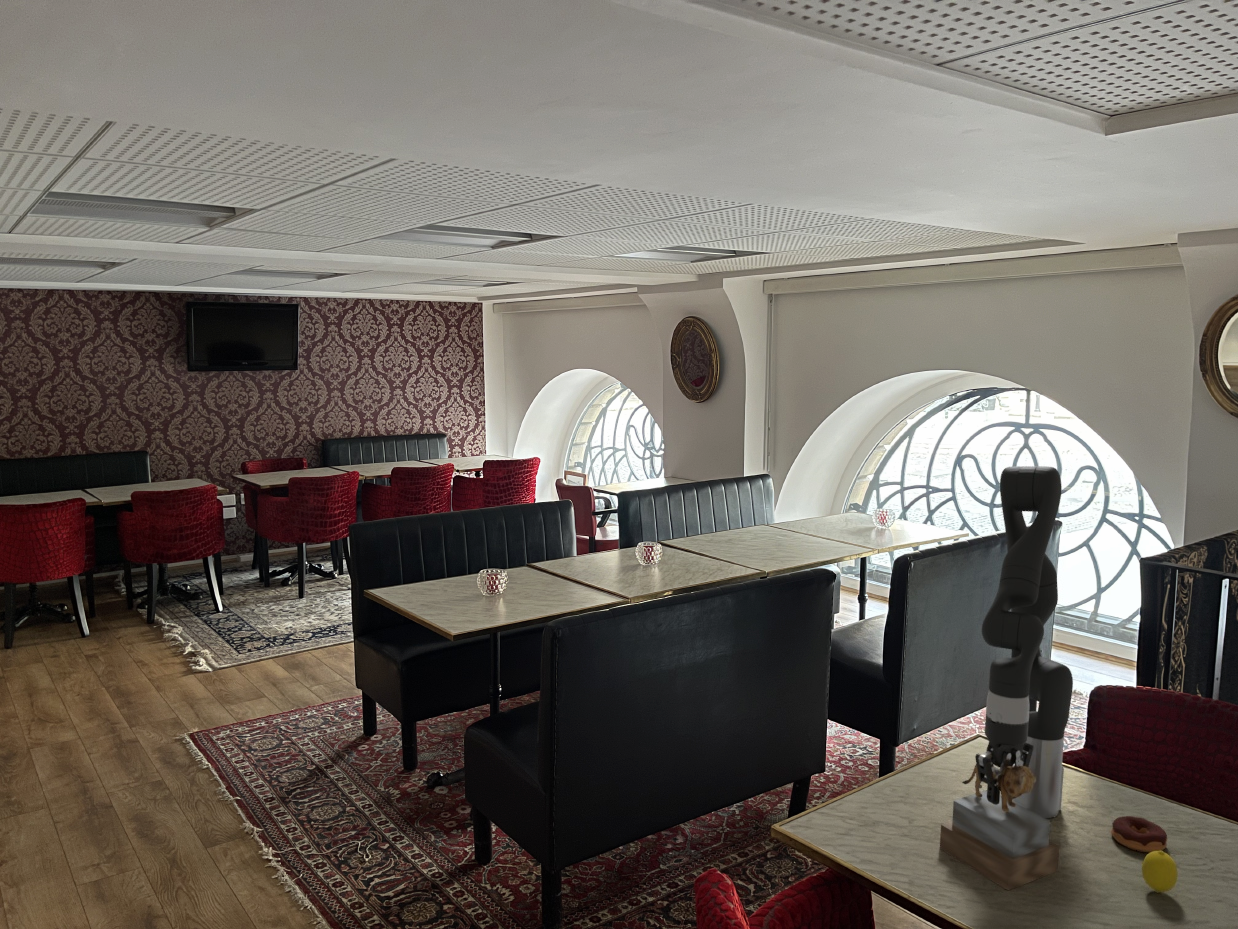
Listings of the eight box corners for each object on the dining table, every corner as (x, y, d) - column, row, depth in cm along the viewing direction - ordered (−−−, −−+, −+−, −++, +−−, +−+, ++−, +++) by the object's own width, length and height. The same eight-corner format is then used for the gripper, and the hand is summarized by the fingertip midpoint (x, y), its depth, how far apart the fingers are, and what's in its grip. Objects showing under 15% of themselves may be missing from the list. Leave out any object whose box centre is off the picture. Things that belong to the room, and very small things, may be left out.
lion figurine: (1038, 812, 171) (1041, 767, 170) (1022, 820, 168) (1025, 774, 167) (969, 782, 183) (972, 739, 182) (953, 789, 180) (955, 746, 179)
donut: (1114, 824, 190) (1115, 806, 189) (1168, 839, 184) (1170, 821, 184) (1106, 845, 182) (1108, 826, 181) (1163, 862, 176) (1165, 842, 176)
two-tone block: (988, 831, 186) (991, 785, 185) (1058, 870, 172) (1061, 821, 171) (939, 848, 180) (942, 800, 178) (1008, 890, 166) (1011, 839, 164)
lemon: (1133, 884, 168) (1137, 843, 167) (1161, 883, 169) (1165, 842, 168) (1153, 902, 163) (1157, 860, 162) (1182, 900, 163) (1186, 859, 162)
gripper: (1015, 701, 179) (1010, 783, 181) (965, 714, 172) (960, 799, 174) (1049, 714, 172) (1043, 800, 175) (998, 729, 166) (992, 817, 168)
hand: (1001, 799), depth 174 cm, fingers closed on lion figurine, 4 cm apart
